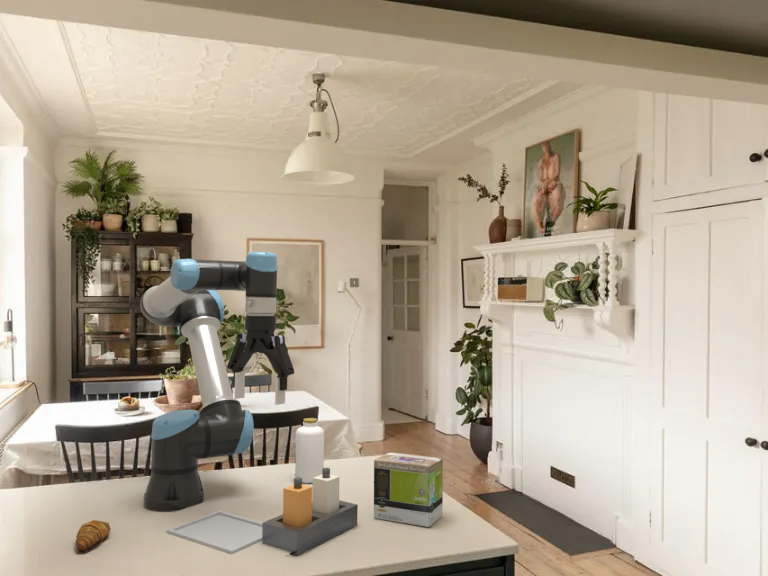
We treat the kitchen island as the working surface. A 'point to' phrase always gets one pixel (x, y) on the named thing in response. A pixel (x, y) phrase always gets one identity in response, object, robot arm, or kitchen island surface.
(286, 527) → the grey bottle rack
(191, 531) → the tray
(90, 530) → the croissant
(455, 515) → the kitchen island surface
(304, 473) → the white bottle
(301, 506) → the orange square bottle
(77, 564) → the kitchen island surface
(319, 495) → the white square bottle
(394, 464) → the tea box
